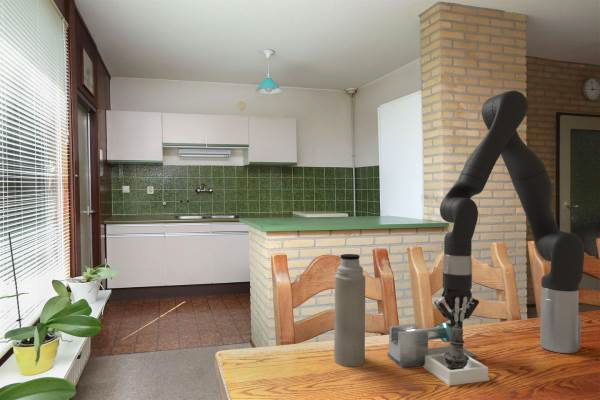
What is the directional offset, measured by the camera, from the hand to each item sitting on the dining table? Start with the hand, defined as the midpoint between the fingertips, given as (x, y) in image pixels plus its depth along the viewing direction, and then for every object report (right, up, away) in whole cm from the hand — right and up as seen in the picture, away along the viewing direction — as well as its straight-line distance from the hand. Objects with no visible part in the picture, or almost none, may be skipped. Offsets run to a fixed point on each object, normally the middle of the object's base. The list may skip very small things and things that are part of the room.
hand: (456, 334), depth 122 cm
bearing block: (-7, -6, -2) cm, 9 cm away
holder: (-4, -6, -12) cm, 14 cm away
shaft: (-8, -2, -2) cm, 9 cm away
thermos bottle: (-29, -6, -4) cm, 30 cm away
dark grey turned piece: (-4, -6, -12) cm, 14 cm away
